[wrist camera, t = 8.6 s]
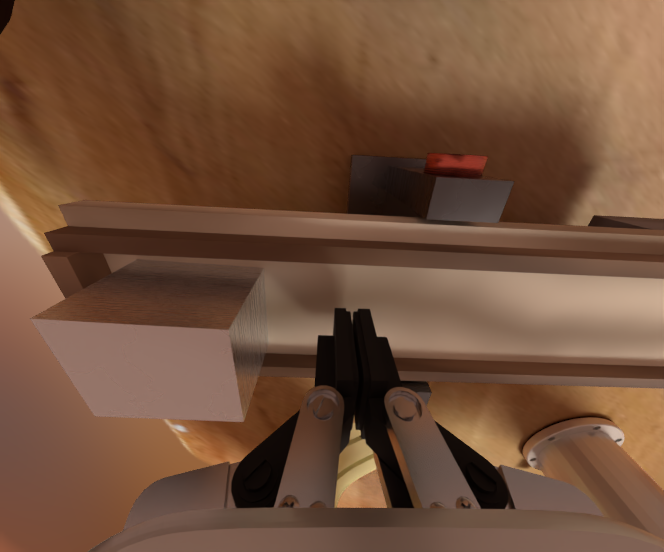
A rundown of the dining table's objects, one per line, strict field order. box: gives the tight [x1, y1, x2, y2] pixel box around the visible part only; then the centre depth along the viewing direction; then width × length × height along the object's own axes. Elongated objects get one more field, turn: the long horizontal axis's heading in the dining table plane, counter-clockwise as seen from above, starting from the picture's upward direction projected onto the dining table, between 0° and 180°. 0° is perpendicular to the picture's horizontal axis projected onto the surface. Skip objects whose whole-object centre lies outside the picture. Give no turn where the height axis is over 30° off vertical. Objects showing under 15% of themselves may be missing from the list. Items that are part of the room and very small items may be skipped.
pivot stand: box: [347, 153, 514, 406], centre depth 16 cm, size 16×8×9 cm, turn 177°
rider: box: [31, 259, 269, 422], centre depth 10 cm, size 5×6×4 cm
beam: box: [41, 200, 664, 388], centre depth 14 cm, size 10×34×6 cm, turn 87°
